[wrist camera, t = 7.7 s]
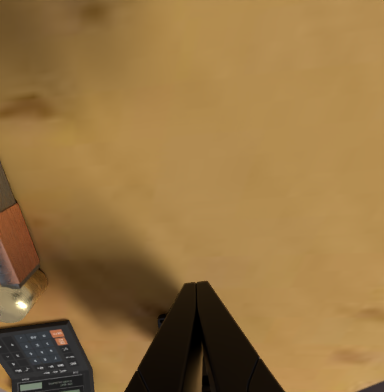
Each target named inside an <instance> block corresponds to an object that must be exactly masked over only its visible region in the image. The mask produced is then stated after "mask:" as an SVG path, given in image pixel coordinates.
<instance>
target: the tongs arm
mask: <svg viewBox="0 0 384 392" xmlns="http://www.w3.org/2000/svg"><path fill="white" fill-rule="evenodd" d="M39 262H40V261H39V258H38V256H37V253H36V250H35V248H34V245H33V242H32V240H31V237H30V234H29V232H28V229H27V226H26V224H25V221H24V218H23V216H22V213H21V211H20V208H19V205H18V203H16V202H15V199H14V197H13V194H12V192H11V189H10V186H9V184H8V181H7V178H6V176H5V173H4V170H3V168H2V165H1V163H0V322H5V323H14V322H18V321H20V320H22V319H23V318H24V317H25V316H26V314H27V313H28V312H29V310H30V309H31V308H32V306H33V305H34V304H35V303H36V301H37V300H38V299H39V297H40V296H41V295H42V293H43V292H44V291H45V289H46V288H47V285H48V282H47V278H46V276H45V275H44V274H43V273H42V272H41V271H40V270H39V269H38V268H39V267H40V265H39Z"/></svg>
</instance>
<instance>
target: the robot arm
mask: <svg viewBox="0 0 384 392" xmlns="http://www.w3.org/2000/svg"><path fill="white" fill-rule="evenodd" d="M158 327H159V330H158V332H157V334H156V336H155V338H154V339H153V341H152V343H151V345H150V347H149V348H148V350H147V352H146V354H145V356H144V358H143V359H142V361H141V363H140V365H139V367H138V369H137V370H138V371H136V372H135V373H134V375H133V377H132V379H131V381H130V383H129V384H128V386H127V388H126V390H125V391H124V392H285V391H284V390H283V388H282V387H281V385H280V384H279V383H278V381H277V380H276V379H275V377H274V376H273V375H272V373H271V372H270V370H269V369H268V368H267V366H266V365H265V363H264V362H263V360H262V359H260V356H259V355H258V353H257V352H256V350H255V349H254V347H253V346H252V345H251V343H250V342H249V340H248V339H247V337H246V336H245V334H244V333H243V332H242V330H241V329H240V327H239V326H238V324H237V323H236V321H235V320H234V318H233V317H232V316H231V314H230V313H229V311H228V310H227V308H226V307H225V305H224V304H223V303H222V301H221V300H220V298H219V297H218V295H217V294H216V292H215V291H214V289H213V288H212V287H211V285H210V284H209V282H208V281H200V282H197V283H195V282H191V283H185V284H184V285H183V287H182V289H181V291H180V293H179V294H178V296H177V298H176V300H175V302H174V303H173V305H172V307H171V309H170V311H169V312H168V314H166V315H160V316H159V317H158Z"/></svg>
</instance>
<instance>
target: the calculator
mask: <svg viewBox="0 0 384 392" xmlns="http://www.w3.org/2000/svg"><path fill="white" fill-rule="evenodd" d="M0 364H1V365H2V366H3V368H4V369H5V371H6V372H7V374H8V375H9V376H10V378H11V379H12V392H94V381H93V370H92V367H91V365H90V363H89V361H88V359H87V356H86V354H85V352H84V350H83V348H82V346H81V344H80V342H79V340H78V338H77V336H76V334H75V332H74V330H73V327H72V325H71V323H70V321H61V322H53V323H45V324H38V325H30V326H22V327H14V328H7V329H0Z"/></svg>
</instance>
